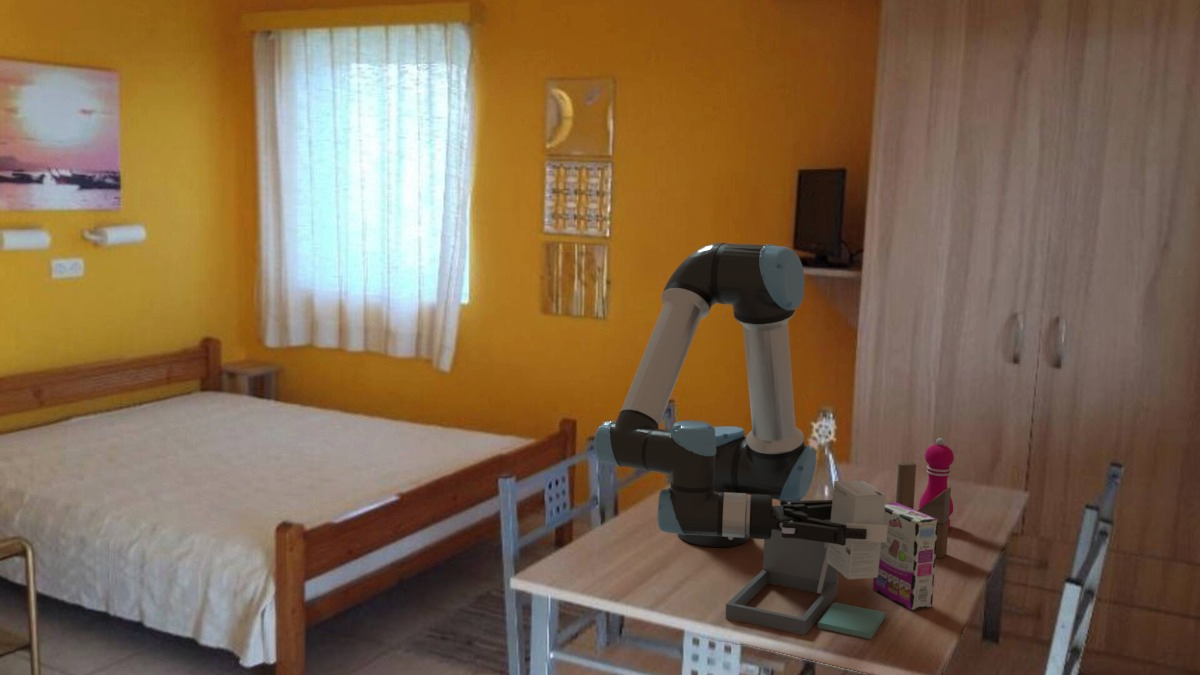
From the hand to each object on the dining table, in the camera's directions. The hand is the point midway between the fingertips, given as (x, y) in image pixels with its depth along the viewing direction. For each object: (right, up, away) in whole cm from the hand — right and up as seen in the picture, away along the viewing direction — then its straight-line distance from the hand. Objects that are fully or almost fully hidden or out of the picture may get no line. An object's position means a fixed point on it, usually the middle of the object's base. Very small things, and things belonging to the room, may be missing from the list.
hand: (883, 524), depth 177 cm
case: (-15, -16, +10) cm, 24 cm away
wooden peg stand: (+18, -13, +40) cm, 45 cm away
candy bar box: (+7, -16, +15) cm, 23 cm away
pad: (-4, -17, +3) cm, 18 cm away
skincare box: (-5, -8, +2) cm, 10 cm away
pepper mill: (+26, -11, +56) cm, 62 cm away
